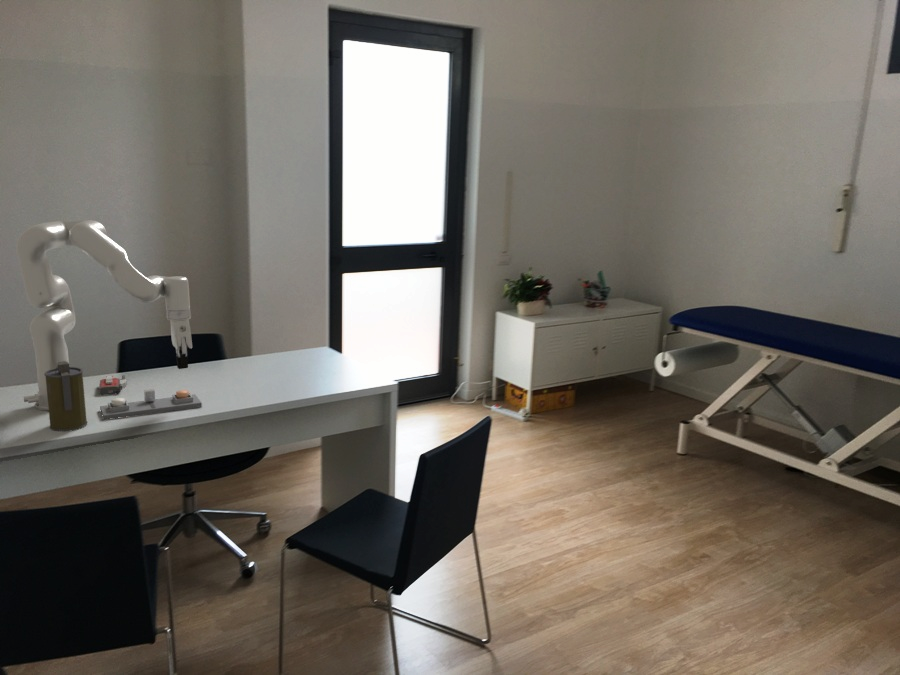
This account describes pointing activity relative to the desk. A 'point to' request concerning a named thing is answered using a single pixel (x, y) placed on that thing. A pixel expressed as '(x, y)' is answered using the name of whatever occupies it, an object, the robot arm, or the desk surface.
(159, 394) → the desk surface
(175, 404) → the panel
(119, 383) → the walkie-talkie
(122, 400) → the button left
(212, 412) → the desk surface
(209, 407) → the desk surface
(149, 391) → the lever
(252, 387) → the desk surface
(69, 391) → the canister
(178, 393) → the button right
